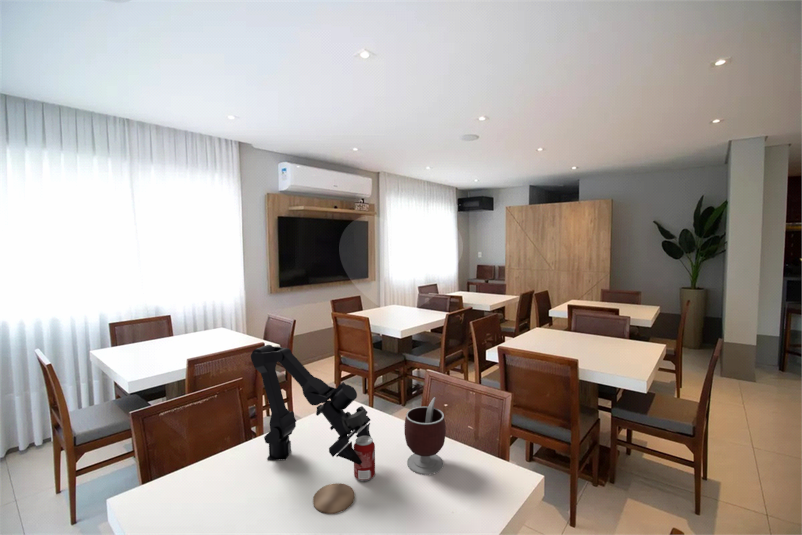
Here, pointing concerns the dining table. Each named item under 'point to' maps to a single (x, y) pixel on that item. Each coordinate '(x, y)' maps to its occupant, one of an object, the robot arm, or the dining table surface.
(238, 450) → the dining table surface
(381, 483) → the dining table surface
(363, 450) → the soda can
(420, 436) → the mate gourd
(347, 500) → the coaster
